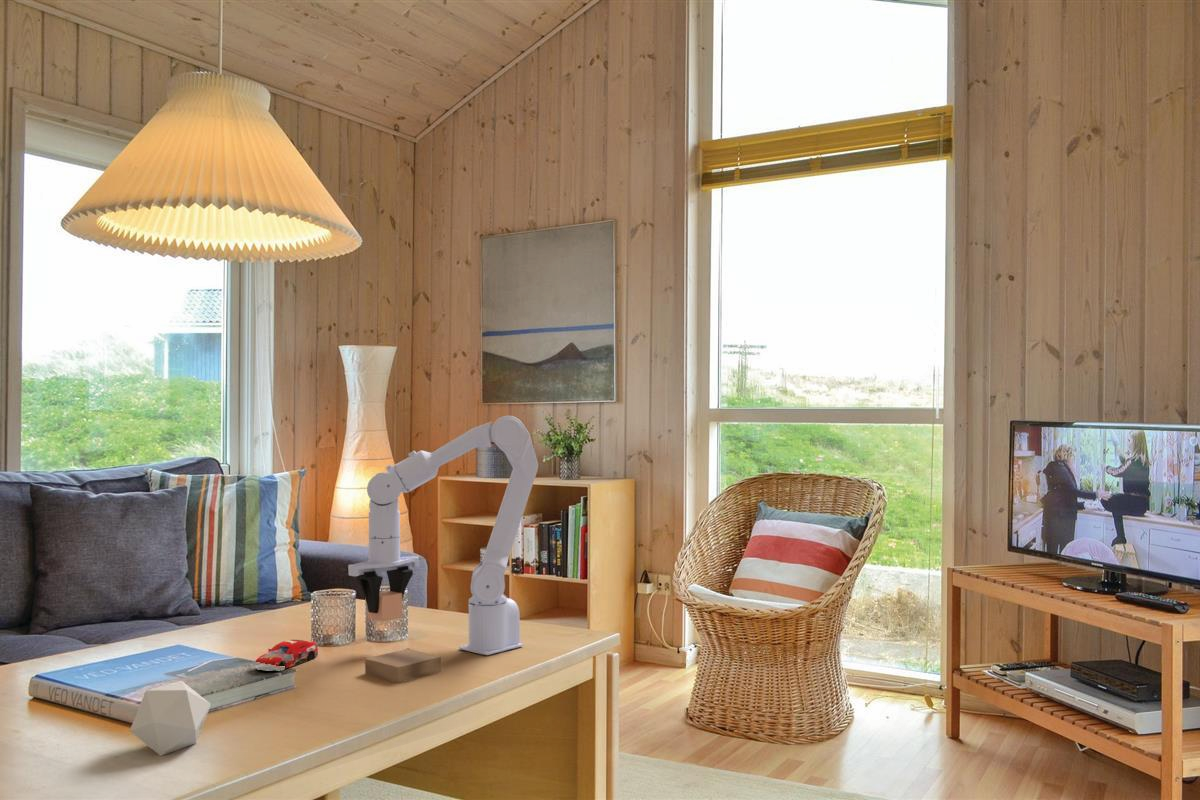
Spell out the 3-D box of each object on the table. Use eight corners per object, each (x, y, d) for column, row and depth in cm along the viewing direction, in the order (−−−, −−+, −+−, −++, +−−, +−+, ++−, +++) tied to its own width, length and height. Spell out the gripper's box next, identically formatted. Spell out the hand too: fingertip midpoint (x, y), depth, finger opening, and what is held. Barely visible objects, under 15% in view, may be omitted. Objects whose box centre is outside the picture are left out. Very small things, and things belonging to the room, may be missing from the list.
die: (210, 758, 121) (228, 683, 128) (149, 739, 116) (171, 662, 122) (170, 770, 125) (190, 697, 132) (109, 753, 120) (133, 677, 126)
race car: (272, 676, 159) (272, 653, 159) (247, 673, 161) (247, 650, 161) (323, 657, 171) (323, 636, 171) (299, 655, 173) (299, 633, 173)
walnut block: (407, 665, 166) (407, 648, 166) (440, 674, 160) (440, 656, 160) (365, 676, 159) (365, 658, 159) (398, 685, 153) (398, 667, 153)
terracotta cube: (387, 614, 177) (387, 590, 177) (402, 617, 174) (402, 593, 174) (367, 618, 174) (367, 594, 174) (382, 621, 171) (382, 596, 171)
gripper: (402, 531, 182) (402, 601, 182) (338, 539, 171) (338, 613, 171) (425, 534, 178) (426, 606, 178) (361, 542, 167) (361, 618, 166)
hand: (384, 610), depth 174 cm, fingers closed on terracotta cube, 4 cm apart
